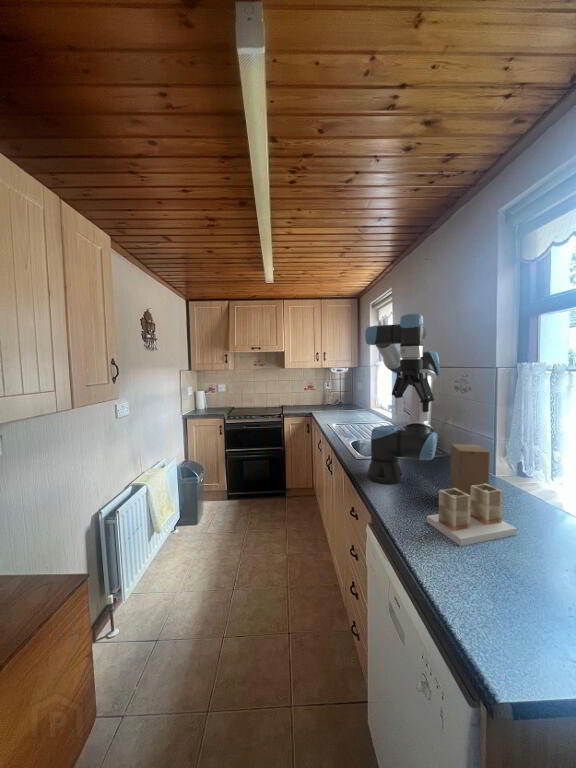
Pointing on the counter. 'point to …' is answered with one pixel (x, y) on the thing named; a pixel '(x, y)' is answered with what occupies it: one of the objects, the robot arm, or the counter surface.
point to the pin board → (474, 530)
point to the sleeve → (454, 509)
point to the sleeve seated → (486, 504)
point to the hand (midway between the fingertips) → (410, 418)
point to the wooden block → (468, 466)
